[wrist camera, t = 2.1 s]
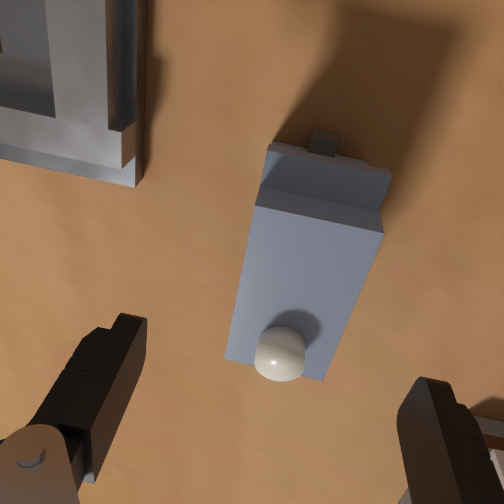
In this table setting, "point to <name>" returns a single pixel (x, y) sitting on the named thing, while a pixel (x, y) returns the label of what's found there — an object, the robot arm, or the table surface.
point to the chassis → (74, 86)
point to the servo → (305, 257)
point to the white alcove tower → (498, 443)
